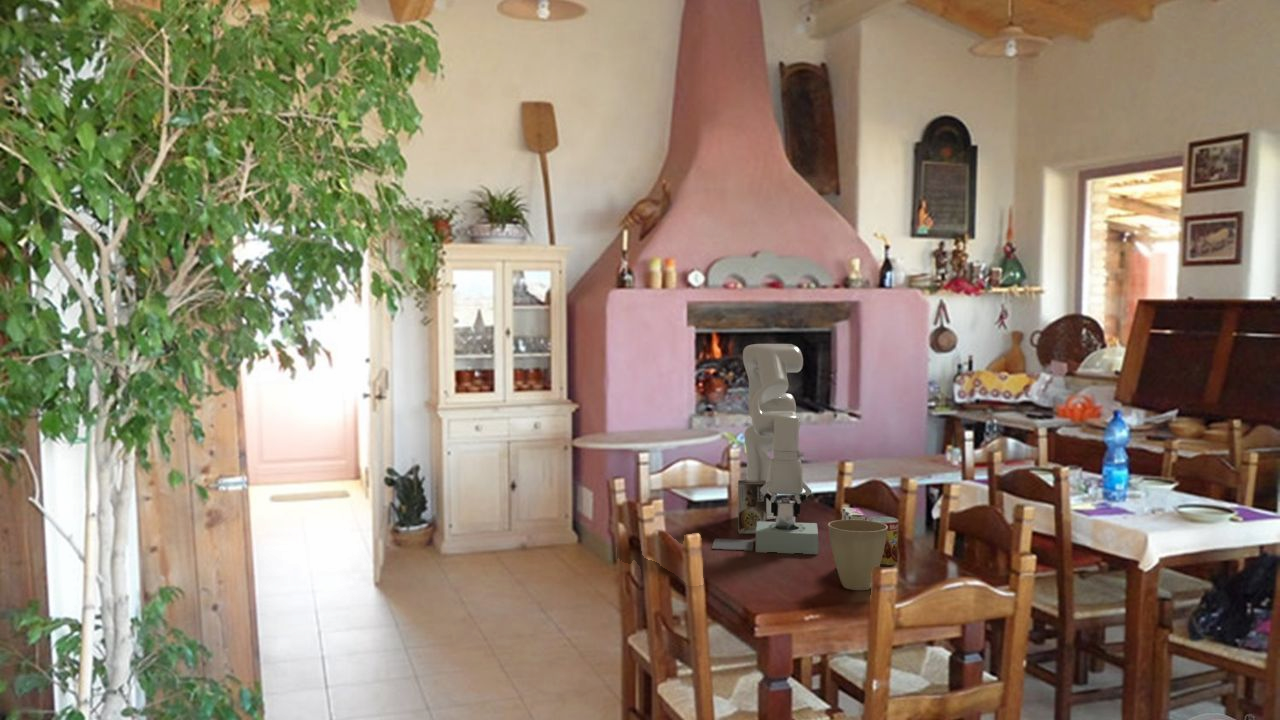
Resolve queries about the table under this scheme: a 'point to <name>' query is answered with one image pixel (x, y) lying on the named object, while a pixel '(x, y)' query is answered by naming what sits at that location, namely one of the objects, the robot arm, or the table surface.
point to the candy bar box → (853, 514)
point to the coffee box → (751, 505)
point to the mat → (733, 544)
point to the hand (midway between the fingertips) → (785, 515)
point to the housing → (787, 538)
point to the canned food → (889, 539)
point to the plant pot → (857, 550)
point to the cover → (785, 514)
